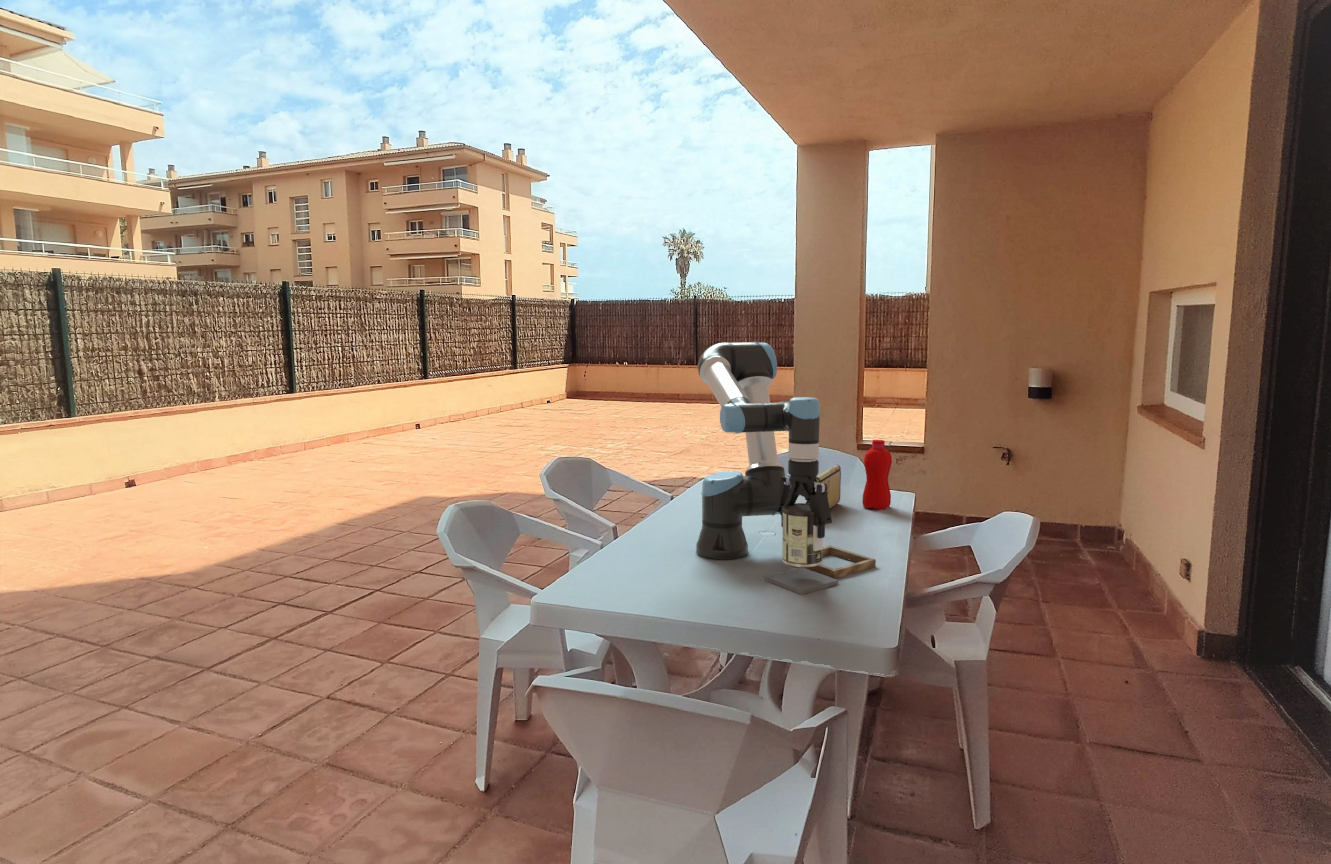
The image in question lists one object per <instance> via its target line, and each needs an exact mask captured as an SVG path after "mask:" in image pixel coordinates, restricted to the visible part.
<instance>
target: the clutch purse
mask: <svg viewBox="0 0 1331 864" xmlns="http://www.w3.org/2000/svg"><path fill="white" fill-rule="evenodd" d="M841 470H842V468H841V466H840V465H839V464H835V465H834V466H832V467H831V468H829V469H827V470H825V471H824V472H822V473H820V474H818V475H817V477H816V479H817V482H818V483H820V484H824V483H825V484H827V498H828V503H829V508H831V509H832V508H833V507H835V506H836V505H838V504H839V503H840V501H841V480H842V477H841V476H842V471H841ZM810 496H812V495H810ZM805 503H806V504H808V501H807V500H806V502H805ZM837 503H838V504H837Z"/></svg>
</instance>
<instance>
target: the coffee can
mask: <svg viewBox="0 0 1331 864" xmlns="http://www.w3.org/2000/svg"><path fill="white" fill-rule="evenodd" d="M782 510H783V527H782V552H781V553H782V558H781V561H782V562H783V563H784V564H785V565H788V566H791V567H795V568H796V567H797V568H799V567H814V566H818V565H820V564H821V565H823V564H822V563H823V556H822V550H818V551H813V525H814V524H816V522H815V520H814V517H813V516H814V512H811V509H810V506H809V504H806V502H805V503H802V502H800V503H799V502H795V504H794V505H791V506H787V505H784V506H783V507H782Z"/></svg>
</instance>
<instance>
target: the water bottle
mask: <svg viewBox="0 0 1331 864" xmlns="http://www.w3.org/2000/svg"><path fill="white" fill-rule="evenodd" d="M871 444H872V445H871V448H870V449H868V450H867V451H866V453H865V454H864V456H863V457H864V458H863V464H864V469H865V474H866V475H865V476H866V482H865V485H864V488H863V493H862V502H861V503H862V507H864V508H865V507H866V509H869V508H873V509H872V510H877V509H878V510H879V511H884V510H886V509H888V508H890V506H891V502H892V494H891V489H890V485H889V475H890V472H891V471H890V470H891V468H892V464H893V459H892V458H893V457H892V454H891V452H890V451H889V450H888V449H886V448H885V446H886V445H885V440H883V439H872V442H871ZM878 510H877V511H878Z"/></svg>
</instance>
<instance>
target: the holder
mask: <svg viewBox="0 0 1331 864" xmlns="http://www.w3.org/2000/svg"><path fill="white" fill-rule="evenodd" d="M827 554H828V555H832V554H833V555H832V556H835V555H836V556H835V557H838V556H839V558H841V557H843V558H842V559H845V558H846V559H845V560H848V559H850V560H849V561H851V560H853V561H852V562H853V563H851V564H848V565H844V566H840V567H837V568H832V567H829V566H826V565H823V564H820V565H818V566H814V567H803V568H805V569H808V570H812V571H814V572H817V573H819V574H822V575H825V576H828V577H831V578H834V579H838V578H841V577H845V576H848V575H850V574H851V573H852V574H855V573H858V571H859V572H861V570H862V571H865V570H864V569H866V570H869V569H872V568H876V561H877V560H876V559H875V558H872V557H869V556H865V555H862V554H859V553H856V552H852V551H849V550H846V549H842V548H839V547H836V546H832V545H826V546H823V549H822V557H824V556H828V555H827ZM823 555H824V556H823ZM854 561H856V562H854ZM857 562H858V563H857ZM868 568H869V569H868ZM852 574H851V575H852Z"/></svg>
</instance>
